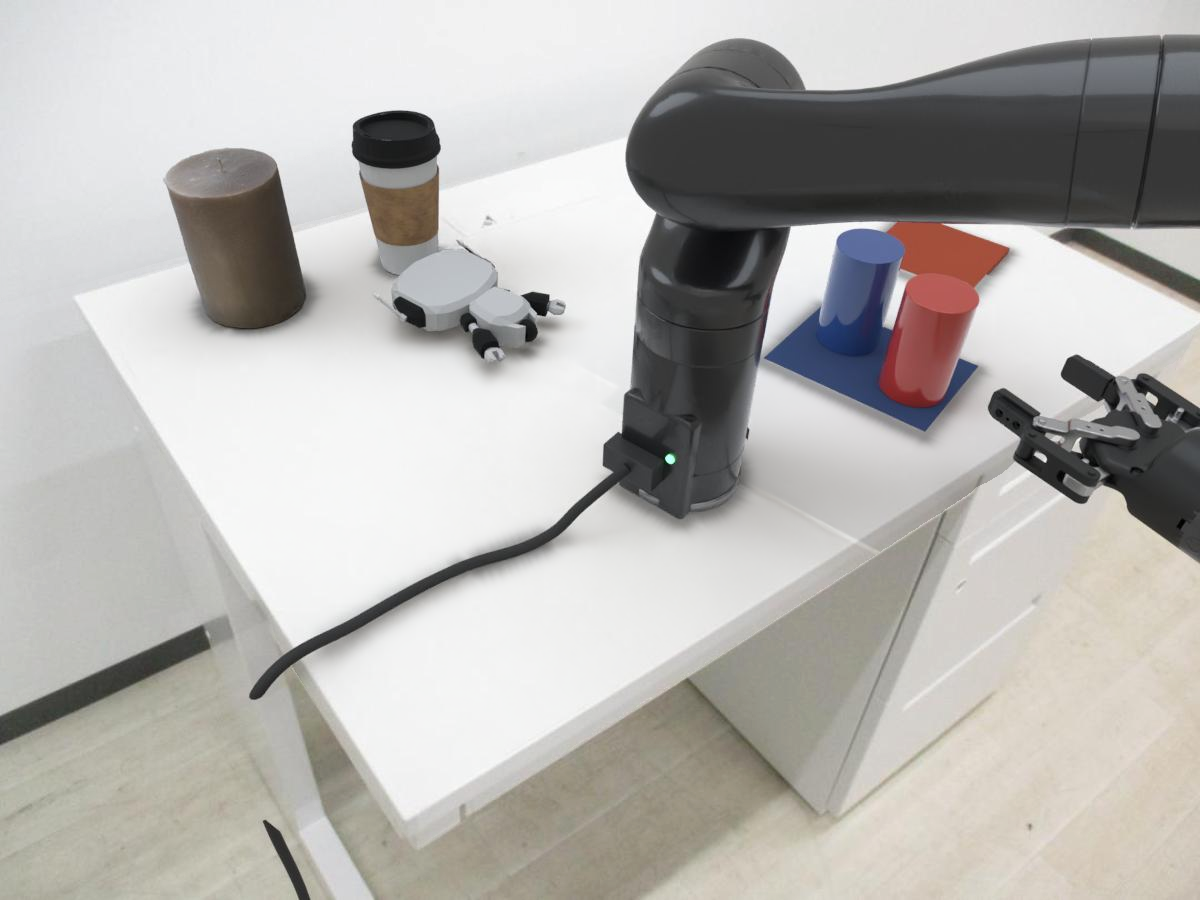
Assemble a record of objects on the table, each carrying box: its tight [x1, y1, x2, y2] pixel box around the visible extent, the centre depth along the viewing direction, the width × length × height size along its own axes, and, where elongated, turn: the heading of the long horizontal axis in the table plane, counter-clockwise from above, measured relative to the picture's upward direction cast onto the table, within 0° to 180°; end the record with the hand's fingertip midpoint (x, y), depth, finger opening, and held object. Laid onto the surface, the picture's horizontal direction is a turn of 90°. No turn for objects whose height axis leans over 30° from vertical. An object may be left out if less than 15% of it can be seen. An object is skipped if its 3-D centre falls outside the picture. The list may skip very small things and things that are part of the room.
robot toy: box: [371, 239, 567, 365], centre depth 90 cm, size 12×4×15 cm
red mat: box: [885, 222, 1011, 289], centre depth 103 cm, size 12×12×1 cm
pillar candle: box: [162, 147, 307, 329], centre depth 88 cm, size 10×10×15 cm
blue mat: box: [763, 306, 979, 433], centre depth 88 cm, size 12×16×1 cm
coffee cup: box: [351, 109, 442, 276], centre depth 94 cm, size 8×8×15 cm
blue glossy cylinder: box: [816, 228, 905, 356], centre depth 87 cm, size 6×6×10 cm
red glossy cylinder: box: [878, 273, 980, 408], centre depth 82 cm, size 6×6×10 cm
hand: (1030, 381), depth 74 cm, fingers open, 8 cm apart
